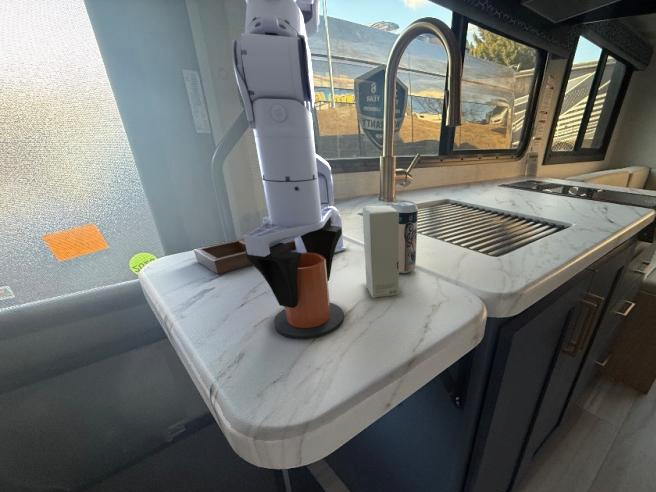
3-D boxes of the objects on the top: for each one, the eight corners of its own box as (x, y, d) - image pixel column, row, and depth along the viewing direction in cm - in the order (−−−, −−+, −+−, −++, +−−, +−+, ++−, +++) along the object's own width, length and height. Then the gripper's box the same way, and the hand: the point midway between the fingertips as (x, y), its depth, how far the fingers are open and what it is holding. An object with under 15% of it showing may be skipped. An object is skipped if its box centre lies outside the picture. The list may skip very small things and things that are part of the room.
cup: (302, 303, 45) (294, 250, 41) (337, 310, 43) (333, 255, 39) (278, 323, 40) (266, 265, 36) (316, 331, 38) (309, 271, 35)
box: (399, 295, 49) (401, 211, 42) (371, 299, 47) (369, 213, 41) (390, 282, 53) (390, 204, 47) (364, 285, 52) (361, 205, 46)
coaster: (316, 297, 47) (316, 295, 47) (357, 318, 42) (357, 315, 42) (260, 321, 41) (260, 318, 41) (301, 348, 36) (300, 345, 36)
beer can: (413, 275, 56) (415, 206, 50) (387, 273, 56) (387, 205, 51) (417, 266, 60) (420, 201, 54) (392, 263, 60) (393, 199, 55)
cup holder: (197, 261, 60) (193, 249, 58) (278, 242, 71) (276, 231, 70) (218, 274, 55) (214, 261, 53) (301, 250, 66) (299, 239, 65)
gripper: (297, 170, 41) (309, 267, 47) (205, 184, 28) (238, 313, 35) (346, 173, 39) (352, 273, 45) (270, 189, 27) (293, 324, 33)
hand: (306, 291), depth 40 cm, fingers open, 7 cm apart
